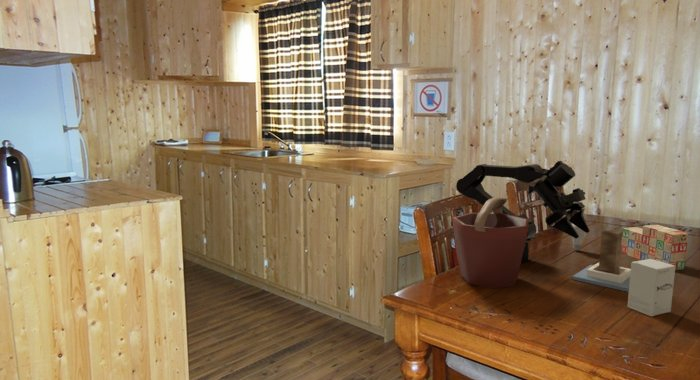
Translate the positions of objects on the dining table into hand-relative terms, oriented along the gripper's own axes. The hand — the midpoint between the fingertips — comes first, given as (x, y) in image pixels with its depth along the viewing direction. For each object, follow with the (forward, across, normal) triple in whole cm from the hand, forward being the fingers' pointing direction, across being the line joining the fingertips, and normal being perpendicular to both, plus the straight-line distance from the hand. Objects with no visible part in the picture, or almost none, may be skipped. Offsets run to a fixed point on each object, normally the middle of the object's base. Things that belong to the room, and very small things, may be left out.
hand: (583, 234), depth 163 cm
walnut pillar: (+14, 0, +2) cm, 14 cm away
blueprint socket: (+15, 0, +3) cm, 15 cm away
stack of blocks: (+18, +30, 0) cm, 35 cm away
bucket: (-4, -24, +22) cm, 33 cm away
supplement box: (+26, -18, -8) cm, 33 cm away
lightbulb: (+2, +25, +16) cm, 30 cm away
